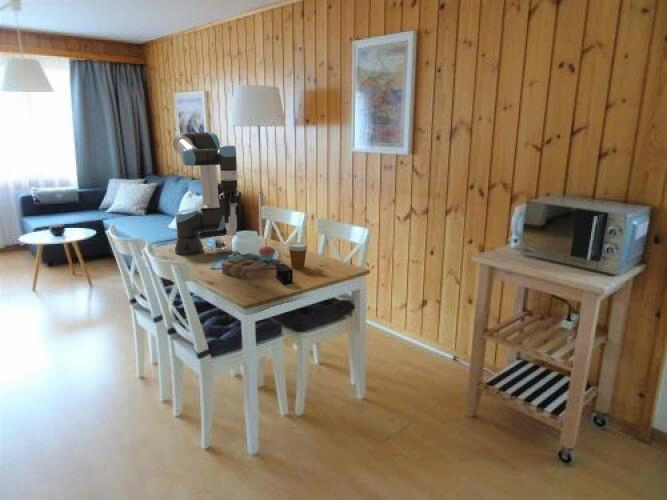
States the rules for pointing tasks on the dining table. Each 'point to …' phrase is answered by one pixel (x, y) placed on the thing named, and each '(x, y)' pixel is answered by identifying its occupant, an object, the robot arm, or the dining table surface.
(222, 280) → the dining table surface
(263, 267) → the hitch block
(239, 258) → the keeper
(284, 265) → the digital camera
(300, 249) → the disposable coffee cup
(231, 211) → the grey stone pillar
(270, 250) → the cupcake
